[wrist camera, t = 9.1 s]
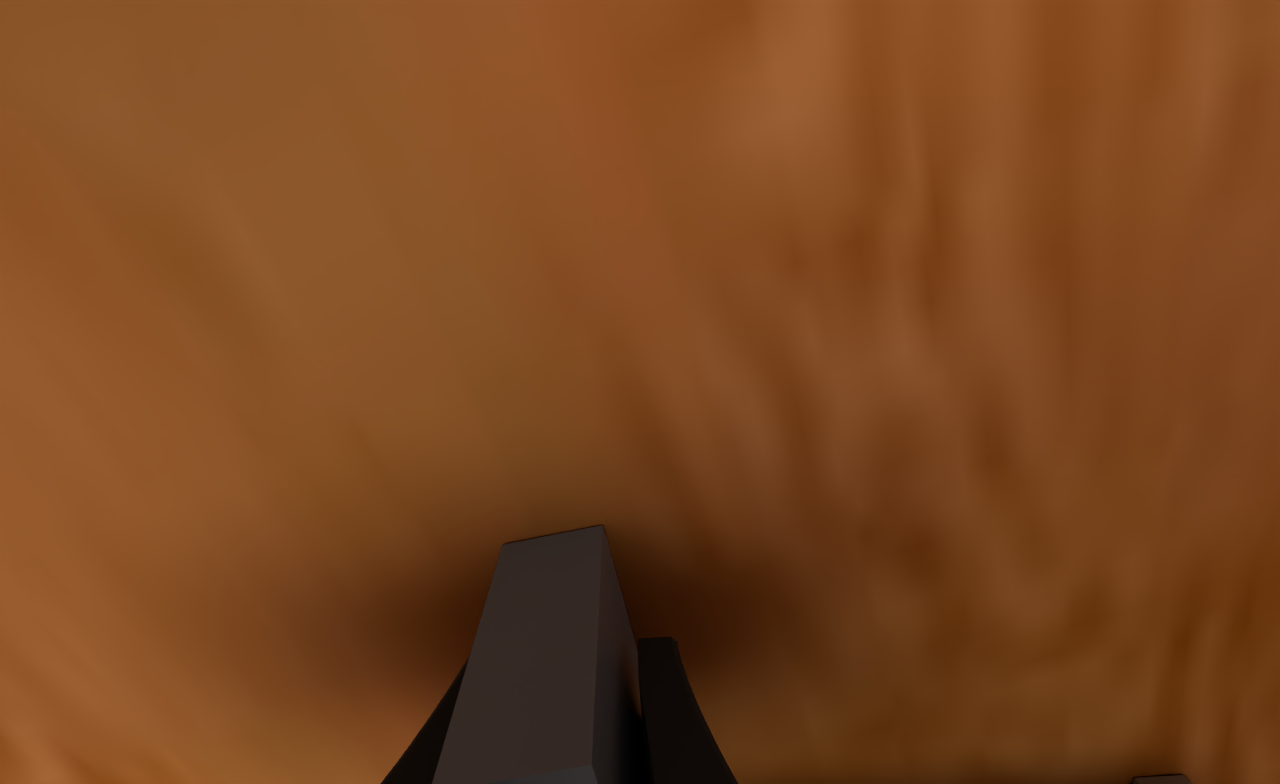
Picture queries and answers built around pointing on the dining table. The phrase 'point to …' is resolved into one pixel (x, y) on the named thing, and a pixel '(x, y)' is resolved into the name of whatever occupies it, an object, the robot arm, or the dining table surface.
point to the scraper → (549, 673)
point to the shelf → (1163, 780)
